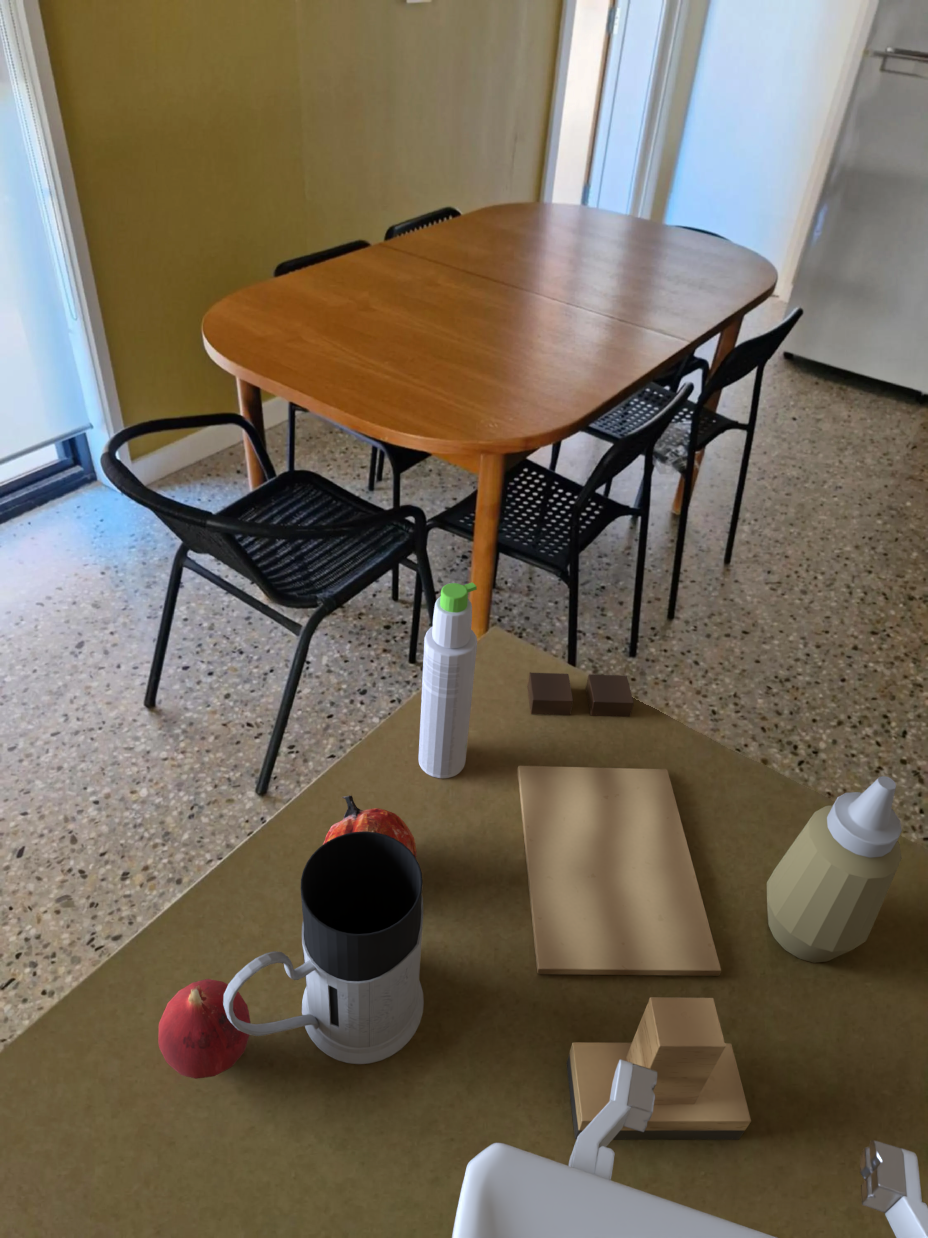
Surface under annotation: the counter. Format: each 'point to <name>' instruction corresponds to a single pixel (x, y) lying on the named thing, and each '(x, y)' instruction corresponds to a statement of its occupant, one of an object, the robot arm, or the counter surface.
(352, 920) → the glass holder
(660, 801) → the board
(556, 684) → the chip
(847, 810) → the squeeze bottle
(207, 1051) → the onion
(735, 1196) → the counter surface
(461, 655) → the bottle
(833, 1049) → the counter surface
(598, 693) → the dark brown square block
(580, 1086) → the brush
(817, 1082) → the counter surface
